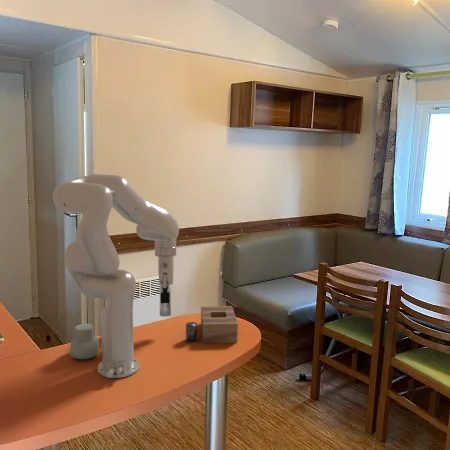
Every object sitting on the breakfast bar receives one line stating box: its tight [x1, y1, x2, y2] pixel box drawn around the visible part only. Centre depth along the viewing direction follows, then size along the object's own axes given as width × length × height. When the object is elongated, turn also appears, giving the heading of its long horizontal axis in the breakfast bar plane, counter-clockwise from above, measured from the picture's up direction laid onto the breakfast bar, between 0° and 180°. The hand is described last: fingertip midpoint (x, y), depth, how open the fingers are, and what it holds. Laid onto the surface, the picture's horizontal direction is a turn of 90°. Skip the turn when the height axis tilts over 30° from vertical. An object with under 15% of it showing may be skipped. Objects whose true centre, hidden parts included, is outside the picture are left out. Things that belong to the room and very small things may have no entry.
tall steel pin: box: [159, 282, 172, 318], centre depth 169 cm, size 4×4×12 cm
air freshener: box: [69, 323, 100, 360], centre depth 153 cm, size 11×8×10 cm
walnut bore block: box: [200, 305, 238, 344], centre depth 173 cm, size 18×12×7 cm, turn 5°
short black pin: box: [185, 321, 198, 344], centre depth 167 cm, size 4×4×6 cm
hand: (165, 300), depth 169 cm, fingers closed on tall steel pin, 4 cm apart
